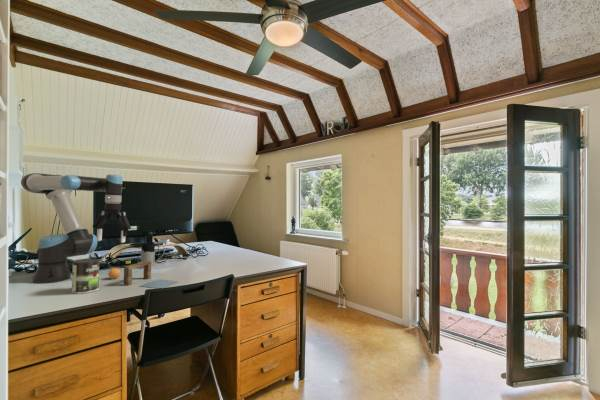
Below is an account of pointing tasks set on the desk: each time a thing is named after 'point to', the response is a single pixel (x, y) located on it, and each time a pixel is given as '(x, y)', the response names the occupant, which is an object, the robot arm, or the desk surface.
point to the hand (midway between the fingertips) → (111, 241)
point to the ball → (114, 273)
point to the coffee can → (85, 276)
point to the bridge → (129, 268)
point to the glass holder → (149, 253)
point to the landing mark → (159, 283)
